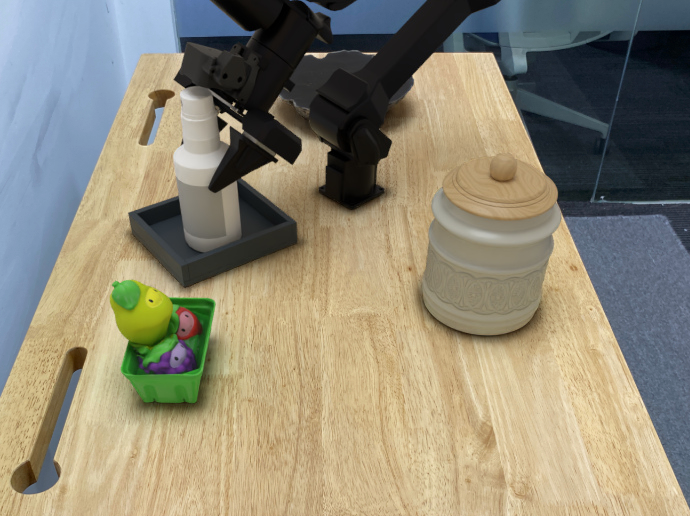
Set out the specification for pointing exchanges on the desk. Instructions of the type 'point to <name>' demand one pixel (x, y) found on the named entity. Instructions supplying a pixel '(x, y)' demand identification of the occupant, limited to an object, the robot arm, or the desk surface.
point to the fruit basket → (162, 340)
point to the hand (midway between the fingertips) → (195, 177)
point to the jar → (490, 244)
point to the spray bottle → (203, 176)
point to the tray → (194, 266)
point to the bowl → (319, 71)
